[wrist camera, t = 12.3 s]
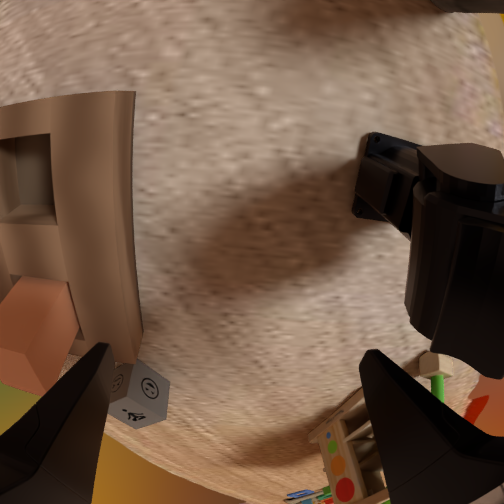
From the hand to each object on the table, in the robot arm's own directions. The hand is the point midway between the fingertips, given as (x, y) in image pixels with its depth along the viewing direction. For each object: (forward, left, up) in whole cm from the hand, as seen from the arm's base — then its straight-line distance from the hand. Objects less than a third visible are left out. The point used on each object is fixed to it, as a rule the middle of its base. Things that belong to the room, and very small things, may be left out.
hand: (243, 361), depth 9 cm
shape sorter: (-34, +89, -14) cm, 96 cm away
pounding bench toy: (-25, +26, -13) cm, 38 cm away
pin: (+14, +7, -12) cm, 20 cm away
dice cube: (+8, +19, -13) cm, 25 cm away
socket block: (+14, +2, -13) cm, 19 cm away
